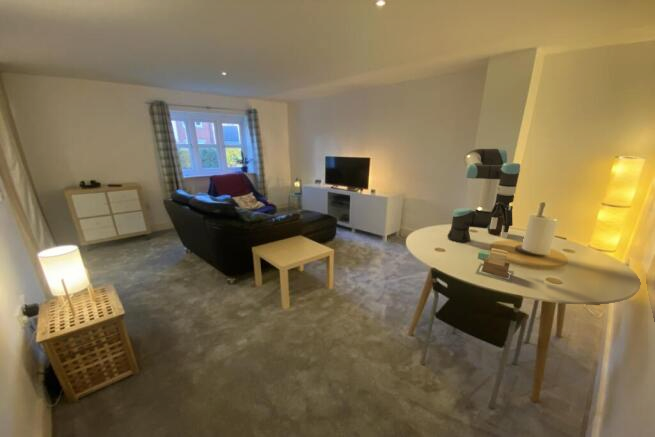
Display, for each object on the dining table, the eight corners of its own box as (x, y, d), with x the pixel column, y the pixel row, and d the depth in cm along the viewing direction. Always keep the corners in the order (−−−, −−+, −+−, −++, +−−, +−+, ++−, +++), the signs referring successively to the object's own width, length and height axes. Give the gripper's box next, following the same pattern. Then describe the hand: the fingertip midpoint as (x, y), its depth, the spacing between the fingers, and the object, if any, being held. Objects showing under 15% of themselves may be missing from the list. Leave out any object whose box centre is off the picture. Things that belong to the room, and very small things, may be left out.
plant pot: (503, 232, 205) (507, 212, 200) (507, 238, 192) (511, 217, 187) (482, 229, 211) (485, 210, 206) (484, 235, 198) (487, 215, 193)
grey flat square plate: (480, 265, 149) (480, 262, 149) (513, 273, 139) (514, 271, 139) (474, 275, 137) (475, 273, 137) (511, 285, 127) (511, 283, 127)
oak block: (490, 258, 141) (492, 248, 139) (505, 261, 137) (507, 251, 135) (488, 262, 136) (490, 252, 134) (504, 266, 131) (506, 255, 130)
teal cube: (478, 257, 159) (480, 250, 158) (488, 259, 156) (489, 252, 155) (477, 260, 155) (478, 252, 154) (486, 262, 152) (488, 254, 151)
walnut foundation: (483, 267, 143) (485, 257, 141) (507, 273, 136) (509, 263, 135) (482, 271, 139) (484, 261, 137) (506, 277, 132) (508, 267, 131)
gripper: (488, 189, 143) (481, 225, 150) (508, 199, 120) (500, 241, 126) (503, 189, 142) (496, 225, 148) (526, 199, 118) (517, 242, 125)
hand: (497, 233), depth 137 cm, fingers open, 13 cm apart
